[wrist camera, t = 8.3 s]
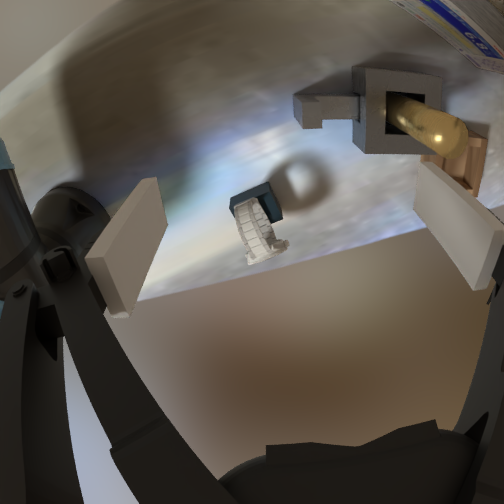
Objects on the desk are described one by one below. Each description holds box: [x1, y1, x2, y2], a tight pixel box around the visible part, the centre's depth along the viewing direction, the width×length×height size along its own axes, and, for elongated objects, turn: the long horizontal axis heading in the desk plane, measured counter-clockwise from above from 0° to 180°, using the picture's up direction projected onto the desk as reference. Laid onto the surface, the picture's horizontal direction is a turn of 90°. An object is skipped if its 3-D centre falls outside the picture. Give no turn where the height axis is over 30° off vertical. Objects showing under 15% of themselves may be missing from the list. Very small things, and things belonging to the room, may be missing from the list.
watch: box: [229, 182, 289, 265], centre depth 39 cm, size 6×8×11 cm
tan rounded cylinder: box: [385, 91, 468, 159], centre depth 29 cm, size 4×4×15 cm
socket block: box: [352, 67, 442, 155], centre depth 33 cm, size 10×10×5 cm
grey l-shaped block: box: [293, 94, 360, 129], centre depth 32 cm, size 10×3×7 cm, turn 95°
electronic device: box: [390, 0, 504, 74], centre depth 18 cm, size 17×7×20 cm, turn 68°
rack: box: [420, 131, 488, 197], centre depth 37 cm, size 9×9×4 cm
